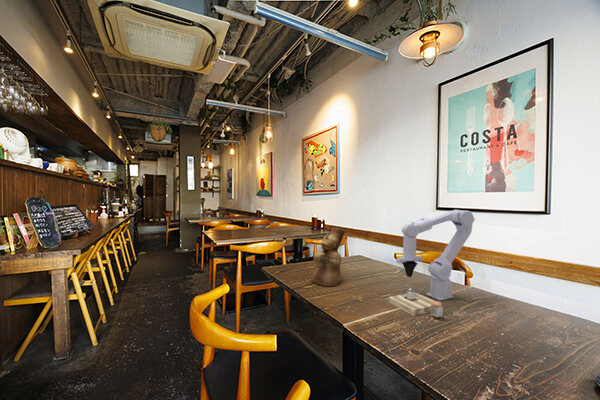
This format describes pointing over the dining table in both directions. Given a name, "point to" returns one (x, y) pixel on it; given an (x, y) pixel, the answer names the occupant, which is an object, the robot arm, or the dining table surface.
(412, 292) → the steel pin
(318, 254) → the ceramic vessel
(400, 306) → the block
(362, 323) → the dining table surface
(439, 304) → the cap
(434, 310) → the plunger housing
